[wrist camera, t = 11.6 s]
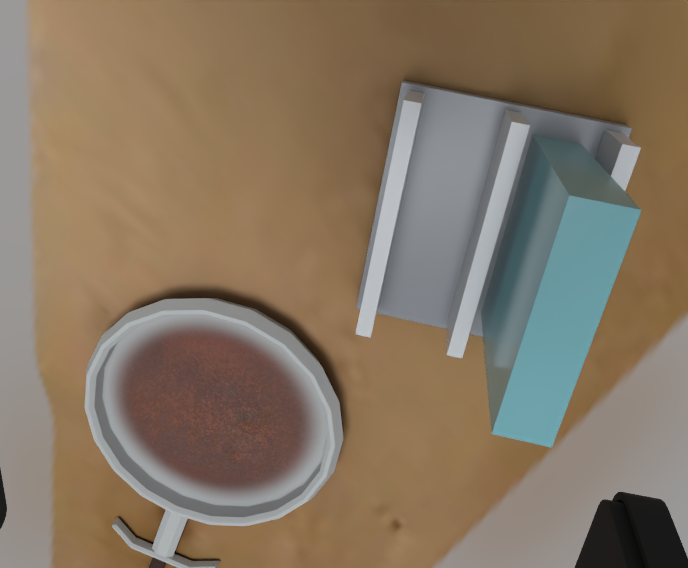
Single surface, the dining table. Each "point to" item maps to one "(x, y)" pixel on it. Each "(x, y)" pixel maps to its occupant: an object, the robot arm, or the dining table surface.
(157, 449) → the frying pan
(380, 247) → the dish rack
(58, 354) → the dining table surface
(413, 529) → the dining table surface
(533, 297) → the teal upright slab
